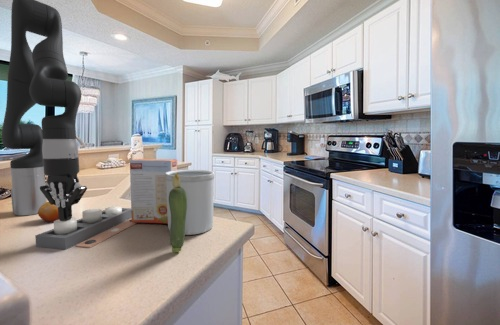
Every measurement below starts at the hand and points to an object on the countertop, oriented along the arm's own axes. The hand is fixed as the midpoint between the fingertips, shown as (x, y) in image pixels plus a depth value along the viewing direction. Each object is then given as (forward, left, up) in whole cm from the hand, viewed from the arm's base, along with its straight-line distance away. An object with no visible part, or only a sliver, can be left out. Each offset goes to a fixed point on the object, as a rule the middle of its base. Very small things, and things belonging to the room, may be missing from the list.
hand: (65, 220), depth 67 cm
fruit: (-20, +14, -6) cm, 25 cm away
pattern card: (+7, +9, -6) cm, 13 cm away
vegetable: (+33, 0, -6) cm, 33 cm away
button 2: (0, +18, -5) cm, 19 cm away
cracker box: (+15, +19, -6) cm, 25 cm away
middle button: (0, +9, -3) cm, 10 cm away
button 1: (0, 0, -3) cm, 3 cm away
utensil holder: (+29, +16, -6) cm, 33 cm away
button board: (0, +9, -6) cm, 11 cm away
